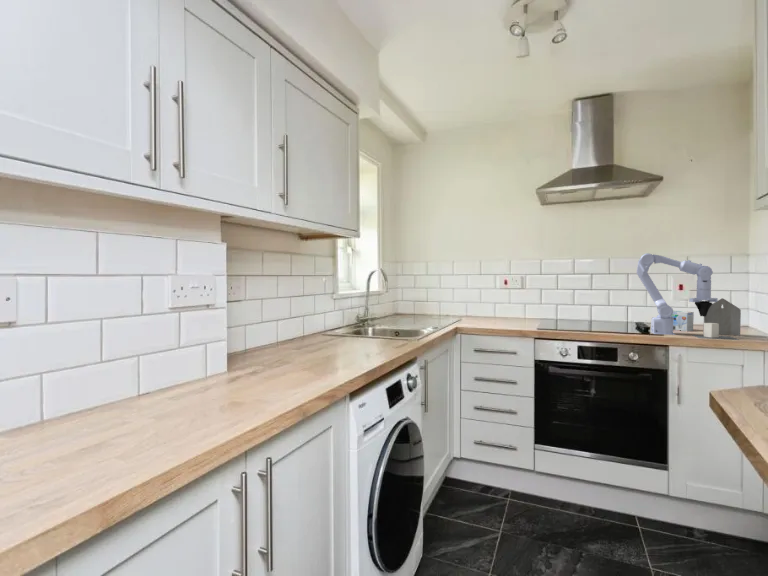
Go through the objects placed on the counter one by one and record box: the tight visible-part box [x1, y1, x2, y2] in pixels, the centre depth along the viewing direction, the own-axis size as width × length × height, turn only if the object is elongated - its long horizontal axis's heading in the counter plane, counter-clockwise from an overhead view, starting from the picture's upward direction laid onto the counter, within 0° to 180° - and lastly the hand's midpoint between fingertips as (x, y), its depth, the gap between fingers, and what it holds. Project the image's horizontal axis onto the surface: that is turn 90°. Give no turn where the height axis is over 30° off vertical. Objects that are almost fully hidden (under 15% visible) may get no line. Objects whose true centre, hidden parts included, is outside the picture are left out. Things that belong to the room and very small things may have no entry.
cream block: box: [703, 322, 720, 338], centre depth 194 cm, size 4×4×7 cm
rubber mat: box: [691, 334, 740, 341], centre depth 195 cm, size 16×12×1 cm
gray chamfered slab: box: [702, 298, 742, 337], centre depth 208 cm, size 16×8×19 cm, turn 77°
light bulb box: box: [671, 310, 695, 332], centre depth 225 cm, size 11×7×11 cm, turn 27°
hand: (703, 316), depth 200 cm, fingers closed
